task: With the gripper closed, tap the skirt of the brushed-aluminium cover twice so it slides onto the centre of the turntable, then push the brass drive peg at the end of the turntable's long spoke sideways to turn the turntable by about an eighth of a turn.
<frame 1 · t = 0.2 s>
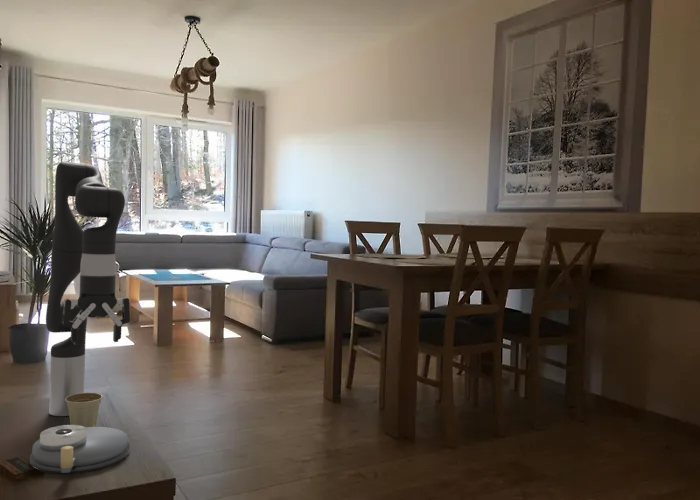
hand: (96, 342, 133), 29 cm above the table, tool pointing down, fingers open, 8 cm apart
turntable: (83, 440, 137), point 4 cm above the table, hinge at 0.0°, touching cover
turntable base: (81, 455, 139), on the table
cover: (63, 444, 137), point 3 cm above the table, touching turntable
flower pot: (83, 428, 158), on the table
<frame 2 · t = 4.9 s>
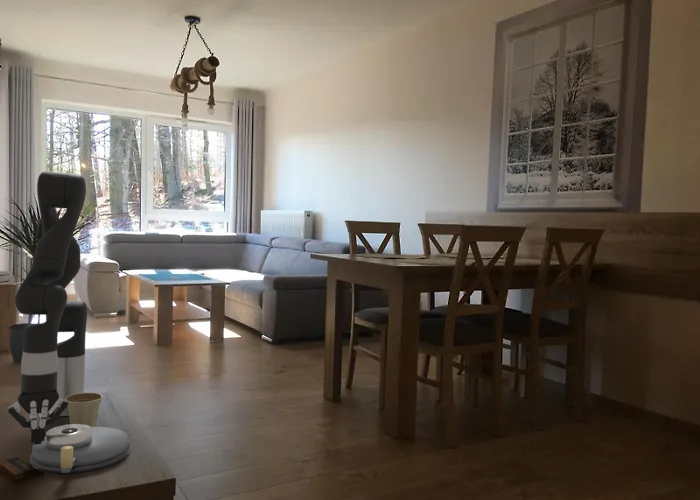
hand: (37, 443, 134), 5 cm above the table, tool pointing down, fingers closed
turntable: (83, 440, 137), point 4 cm above the table, hinge at 0.0°
cover: (69, 443, 138), point 3 cm above the table, touching gripper
everything else where it was.
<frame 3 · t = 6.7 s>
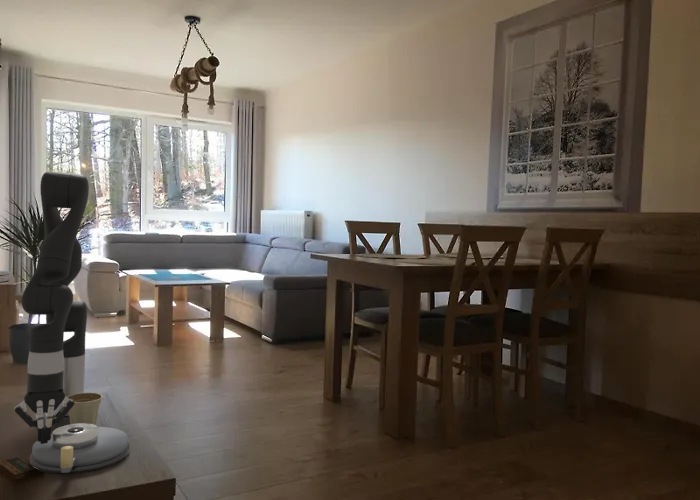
hand: (43, 442, 135), 5 cm above the table, tool pointing down, fingers closed
turntable: (83, 440, 137), point 4 cm above the table, hinge at 0.0°, touching cover
cover: (75, 442, 138), point 3 cm above the table, touching gripper, turntable
everything else where it was.
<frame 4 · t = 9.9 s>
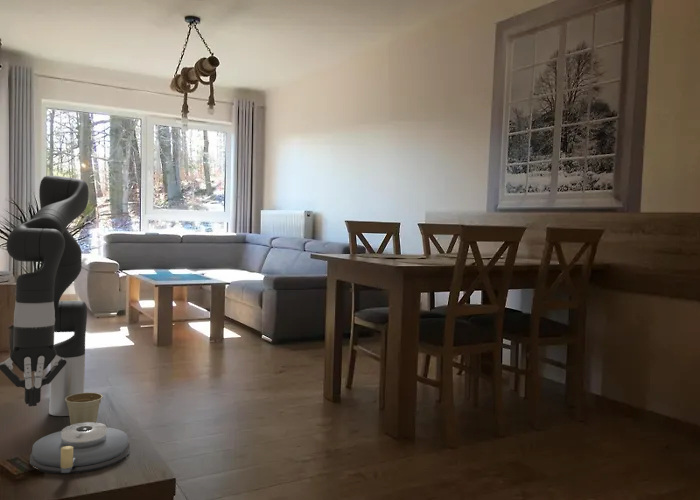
hand: (32, 405, 120), 18 cm above the table, tool pointing down, fingers closed
cover: (84, 441, 139), point 3 cm above the table, touching turntable
everything else where it was.
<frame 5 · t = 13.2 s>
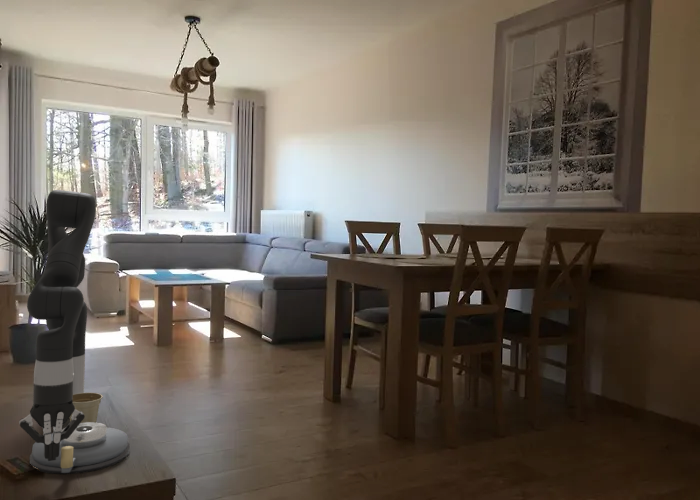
hand: (51, 459, 123), 5 cm above the table, tool pointing down, fingers closed
turntable: (83, 440, 137), point 4 cm above the table, hinge at 0.1°, touching cover, gripper
everything else where it was.
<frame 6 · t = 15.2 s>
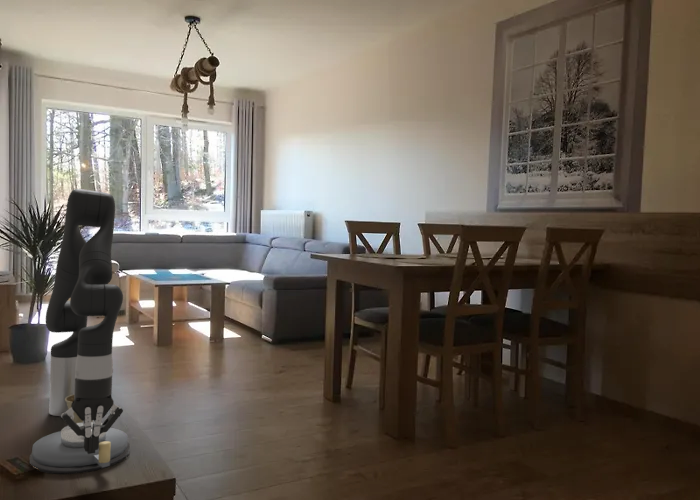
hand: (90, 452, 126), 6 cm above the table, tool pointing down, fingers closed
turntable: (88, 439, 138), point 4 cm above the table, hinge at 29.3°, touching cover, gripper
everything else where it was.
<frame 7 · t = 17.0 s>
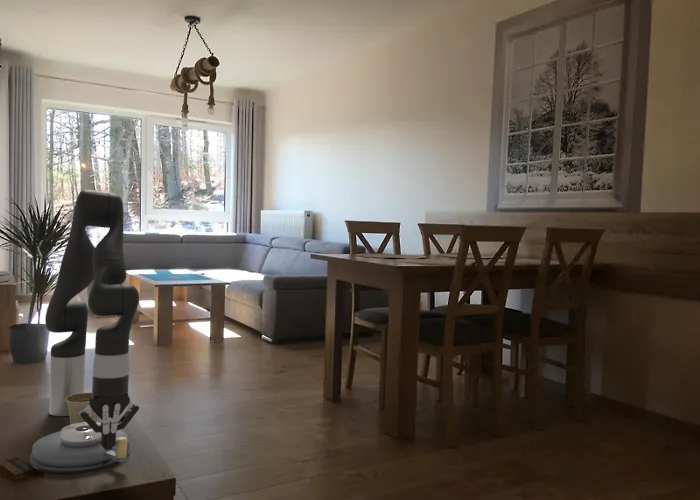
hand: (107, 448, 129), 6 cm above the table, tool pointing down, fingers closed
turntable: (90, 438, 139), point 4 cm above the table, hinge at 44.4°, touching cover, gripper
everything else where it was.
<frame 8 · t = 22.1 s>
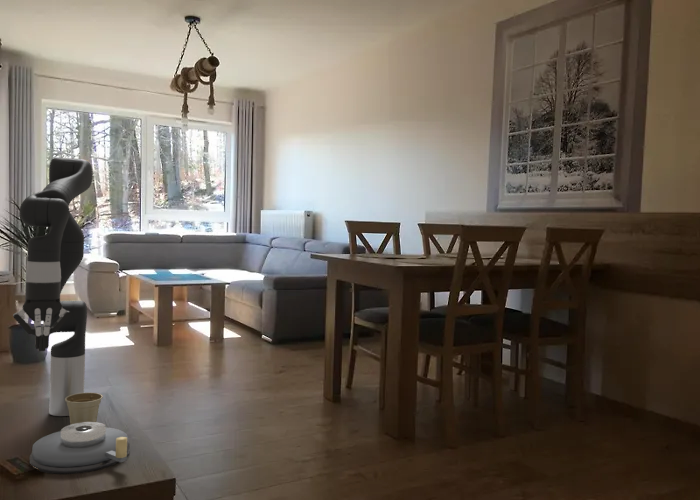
hand: (41, 350, 140), 25 cm above the table, tool pointing down, fingers closed
turntable: (90, 438, 139), point 4 cm above the table, hinge at 44.6°, touching cover
everything else where it was.
at the end: cover 0.5 cm from the turntable (horizontally); turntable at +45° (first picture: +0°); cover touching turntable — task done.
